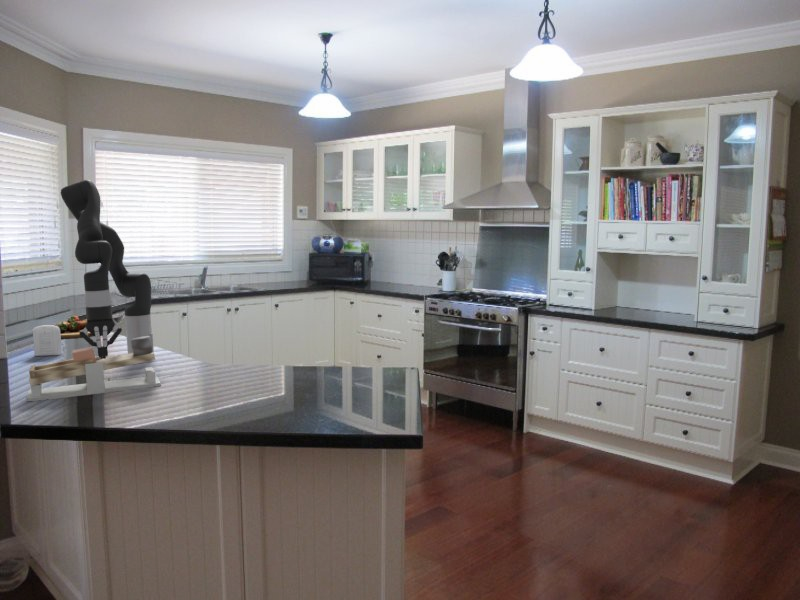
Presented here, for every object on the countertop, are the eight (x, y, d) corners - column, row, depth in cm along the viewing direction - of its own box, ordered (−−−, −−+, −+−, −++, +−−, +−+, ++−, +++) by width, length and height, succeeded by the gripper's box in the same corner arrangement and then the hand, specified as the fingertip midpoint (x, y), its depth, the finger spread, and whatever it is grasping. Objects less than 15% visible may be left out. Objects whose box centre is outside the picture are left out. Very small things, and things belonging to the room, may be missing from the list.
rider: (96, 361, 215) (93, 346, 215) (96, 364, 211) (93, 348, 210) (75, 365, 213) (72, 350, 212) (75, 368, 208) (72, 353, 208)
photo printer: (63, 353, 275) (61, 323, 274) (60, 355, 271) (57, 325, 270) (37, 354, 274) (34, 324, 273) (33, 356, 270) (30, 326, 268)
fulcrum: (156, 378, 227) (154, 350, 226) (160, 385, 217) (158, 357, 215) (29, 393, 211) (26, 363, 210) (26, 402, 200) (23, 371, 199)
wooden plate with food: (48, 331, 338) (46, 314, 337) (116, 326, 347) (115, 310, 346) (34, 341, 307) (32, 324, 306) (109, 336, 317) (108, 319, 316)
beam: (152, 354, 225) (148, 334, 223) (155, 359, 216) (151, 338, 215) (32, 379, 210) (27, 358, 209) (30, 385, 202) (25, 363, 201)
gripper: (120, 301, 218) (124, 353, 220) (75, 304, 212) (80, 358, 214) (121, 303, 211) (126, 357, 213) (75, 307, 205) (80, 363, 208)
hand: (103, 358), depth 214 cm, fingers closed
